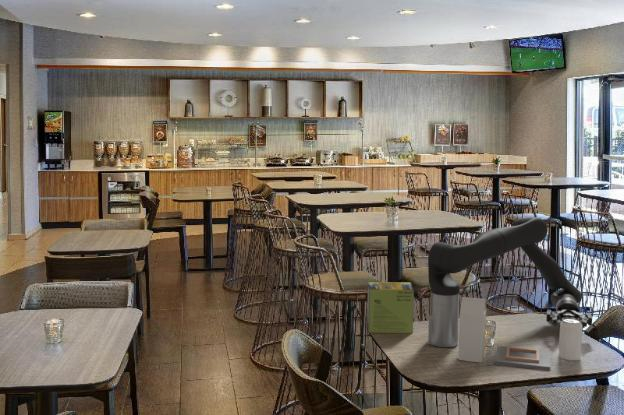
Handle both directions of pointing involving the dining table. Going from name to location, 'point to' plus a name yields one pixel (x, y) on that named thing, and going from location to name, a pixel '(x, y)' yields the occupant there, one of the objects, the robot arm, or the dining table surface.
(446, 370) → the dining table surface
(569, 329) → the can
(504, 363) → the seat plate
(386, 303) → the protein box
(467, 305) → the milk carton
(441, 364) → the dining table surface
